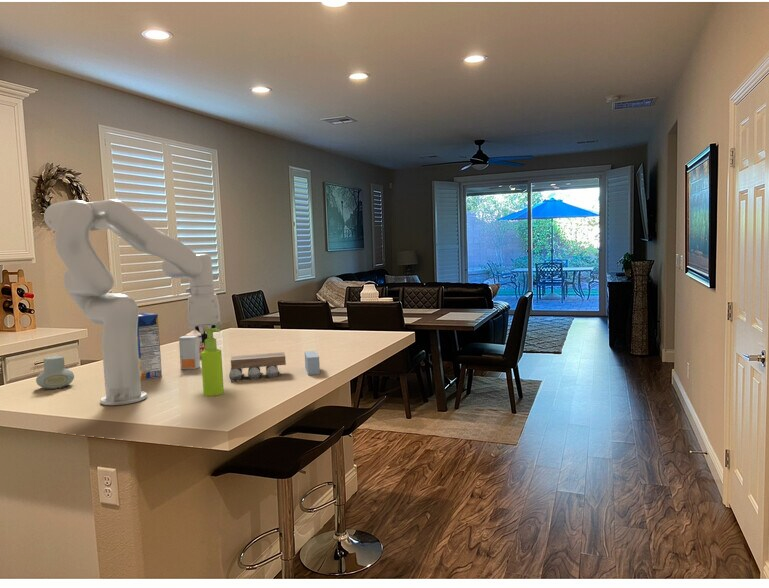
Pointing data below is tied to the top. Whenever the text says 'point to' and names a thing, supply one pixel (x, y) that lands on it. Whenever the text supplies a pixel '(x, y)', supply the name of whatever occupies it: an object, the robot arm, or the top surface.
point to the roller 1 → (235, 374)
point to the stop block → (312, 363)
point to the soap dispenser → (212, 366)
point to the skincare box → (189, 352)
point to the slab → (258, 360)
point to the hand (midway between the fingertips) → (207, 344)
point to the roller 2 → (272, 371)
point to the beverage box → (148, 346)
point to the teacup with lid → (201, 345)
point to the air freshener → (54, 374)
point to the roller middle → (254, 372)
